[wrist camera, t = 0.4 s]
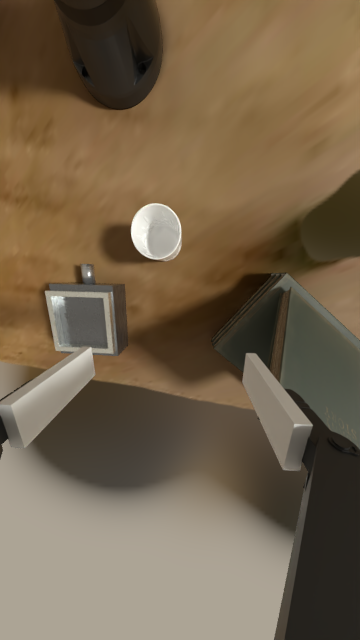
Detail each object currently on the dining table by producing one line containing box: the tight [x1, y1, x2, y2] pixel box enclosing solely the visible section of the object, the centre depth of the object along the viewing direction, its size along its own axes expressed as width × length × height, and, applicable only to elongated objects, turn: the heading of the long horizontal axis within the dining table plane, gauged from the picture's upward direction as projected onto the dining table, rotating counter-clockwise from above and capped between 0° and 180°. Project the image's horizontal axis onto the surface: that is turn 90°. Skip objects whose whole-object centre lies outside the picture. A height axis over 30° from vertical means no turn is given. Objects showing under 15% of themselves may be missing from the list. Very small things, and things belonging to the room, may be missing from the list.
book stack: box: [211, 273, 360, 450], centre depth 27 cm, size 23×20×25 cm
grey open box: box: [45, 264, 128, 356], centre depth 36 cm, size 19×13×8 cm
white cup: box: [131, 203, 182, 261], centre depth 30 cm, size 8×8×10 cm
